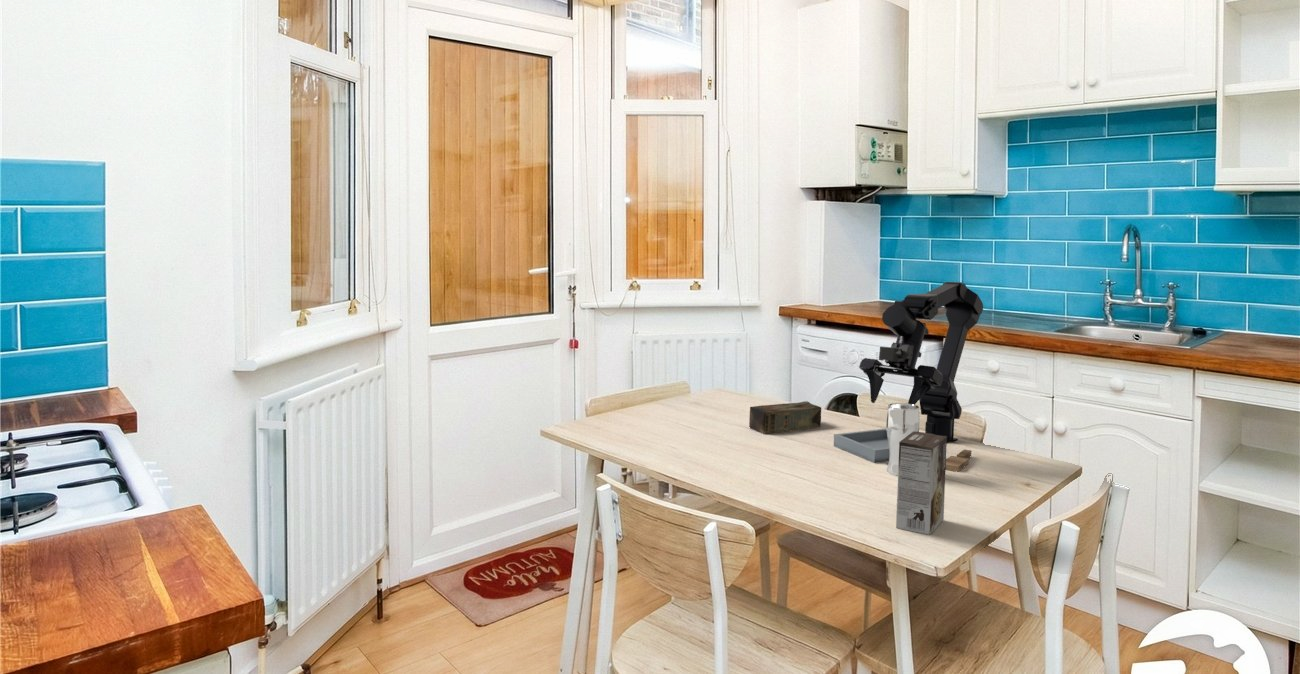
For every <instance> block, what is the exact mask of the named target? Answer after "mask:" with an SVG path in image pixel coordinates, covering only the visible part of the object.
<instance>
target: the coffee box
mask: <svg viewBox="0 0 1300 674" xmlns="http://www.w3.org/2000/svg"><path fill="white" fill-rule="evenodd" d="M947 444H948V442H947V436H940V435H935V434H930V433H925V432H921V431H919V432H914V431H913V432H912V433H910V434H909V435H908V436H907V437H905V438H904V439H903V440H901V441H900V442H899V465H898V475H897V489H896V490H897V492H896V493H897V495H896V496H897V497H896V519H895V521H896V522H895V528H896V529H900V530H904V531H910V532H915V533H919V534H923V535H929V536H930V535H932V534H933V533H934V531H935V530H936V529H937V528H938V527H939V526H940V525H941V523H942V522H943V520H944V518H945V515H944V513H945V493H946V488H945V487H946V473H947V472H946V471H947V470H946V459H947Z"/></svg>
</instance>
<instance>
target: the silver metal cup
mask: <svg viewBox="0 0 1300 674" xmlns="http://www.w3.org/2000/svg"><path fill="white" fill-rule="evenodd" d="M920 421H921V420H920V405H916V404H915V405H914V404H908V402H906V403H905V402H895V403H893V402H892V403H889V404H887V412H886V421H885V422H886V431H887V440H888V447H889V461H887V467H886V472H887V473H888V474H890V475H894V476H898V465H899V442H900V441H901V440H903V439H904V438H905V437H907V436H908V435H909V434H910V433H912V432H913V431H914V432H920Z"/></svg>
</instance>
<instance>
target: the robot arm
mask: <svg viewBox="0 0 1300 674" xmlns="http://www.w3.org/2000/svg"><path fill="white" fill-rule="evenodd" d="M942 307H944V309H945V316H946V319H947V322H948V327H947V332H946V334H945V338H944V342H943V345H942V348H941V349H942V350H941V353H940V355H939V358H938V363H937V366H936V367H935V366H933V365H931V366H930V365H923V364H920V365H918V367H916V365H917V362H918V358H921V357H922V352H921V348H922V345H923V341H924V337H925V335H928V334H930V333H929V329H928V328H927V325H926V324H927V323H926V322H921V321H920V320H927V321H931V320H933V319H934V318H935V317H936V316H937V315H938V314H939V309H940V308H942ZM983 311H984V303H983V301H982V300H981V298H980V296H979V295H978V293H976V292H974V291H973V290H971V289H970V288H968V287H967V285H966V284H965V283H963V282H961V281H946V282H944V283H942V284H941V285H940V286H937V287H935V288H933V289H932V290H930V291H927V292H925V293H912V294H907V295H906V296H905V297H904V299H903V300H894V303H893V304H892V305H890V306H889V307H887V308H886V309H885V311H884V312H883V313H882V316H881V320H882V322H883V324H884V325H885V326H886V327H887V328H888V329H889V330H890V331H891V332H893V334H895V335H896V336H897V338H896V341H895V342H894V341H893V342H892V343H891V346H890V347H888V346H880V347H879V354H878V359H877V358H876V359H875V358H869V357H868V358H867V357H865V358H863V359H861V361H860V363H859V365H858V368H859V369H860V370H861V371H863V373H864V375H866V376H867V378H868V381H869V388H870V389H869V390H870V392H869V393H870V402H871V403H872V404H875V403H876V401H877V399H878V397H879V394H880V391H881V389H882V386H883V383H884V381H885V379H884V378H883V377H884V376H885V374H888V375H895V376H903V377H908V378H909V377H910V378H913V386H912V390H911V392H910V394H909V395H910V396H909V398H908V402H907V403H908V404H914V405H916V404H917V403H918V402H919V410H920V414H921V415H922V416H926V421H925V429H924V430H925V431H924V433H930V434H935V435H940V436H947V443H949V442H956V441H957V440H958V441H959V438H957V437H955V436H954V432H955V420H959V419H960V418H961V416H962V411H963V408H962V406H961V404H960V402H959V400H958V398H957V397H958V391H957V389H956V388H957V387H956V384H955V378H956V375H957V371H958V368H959V364H960V361H961V357H962V354H963V350H964V347H965V344H966V341H967V335H968V334H969V333H968V332H969V331H970V330H971V329H972V328H973V327H975V326H976V325H977V324H978V322H979V320H980V316H981V315H982V313H983ZM881 361H884V363H885V364H886V365H885V364H883V363H882V362H881ZM887 364H888V365H887Z"/></svg>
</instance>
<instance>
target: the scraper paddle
mask: <svg viewBox="0 0 1300 674" xmlns="http://www.w3.org/2000/svg"><path fill="white" fill-rule="evenodd" d="M970 456H971V457H972V450H971V449H966V448H965V449H963V450H961V451H960V452H959V453H957V454H956V456H954V455H950V456H949V457H946V471H950V470H951V472H956V471H957V472H958V471H959V472H960V471H962V470H963V469H964V468H965V467H967V466H968V465H969V464H968V463H970V458H969V457H970ZM968 458H969V459H968ZM967 464H968V465H967ZM964 466H965V467H964ZM963 467H964V468H963ZM957 472H956V473H957ZM959 472H958V473H959Z"/></svg>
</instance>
